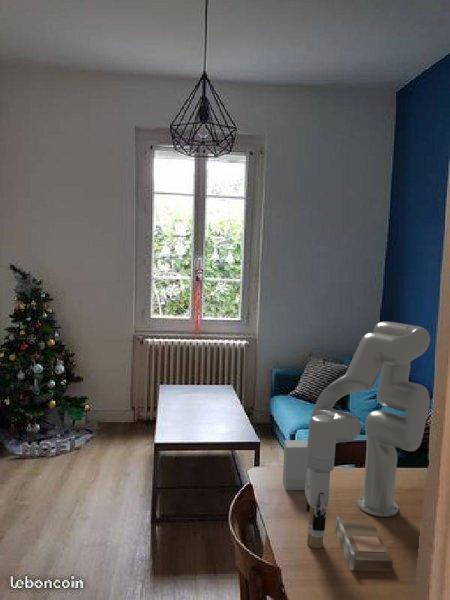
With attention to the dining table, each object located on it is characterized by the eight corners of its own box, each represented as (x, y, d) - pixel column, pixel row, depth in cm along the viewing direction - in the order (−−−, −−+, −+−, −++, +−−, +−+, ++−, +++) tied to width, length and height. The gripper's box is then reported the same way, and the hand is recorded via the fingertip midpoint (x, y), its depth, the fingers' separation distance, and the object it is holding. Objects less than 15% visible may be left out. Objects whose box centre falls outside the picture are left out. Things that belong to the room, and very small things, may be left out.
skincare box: (305, 482, 182) (307, 439, 180) (308, 491, 175) (311, 447, 173) (281, 481, 181) (284, 439, 179) (284, 490, 175) (286, 446, 173)
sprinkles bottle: (305, 539, 146) (307, 494, 145) (320, 539, 147) (323, 494, 145) (309, 549, 142) (312, 502, 140) (325, 549, 142) (328, 502, 141)
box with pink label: (335, 531, 151) (336, 516, 151) (372, 532, 151) (373, 518, 151) (350, 570, 133) (351, 553, 133) (391, 571, 134) (393, 555, 133)
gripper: (301, 448, 150) (297, 504, 152) (311, 474, 133) (306, 537, 134) (327, 449, 150) (322, 506, 152) (340, 475, 133) (335, 538, 134)
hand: (315, 520), depth 143 cm, fingers open, 9 cm apart
